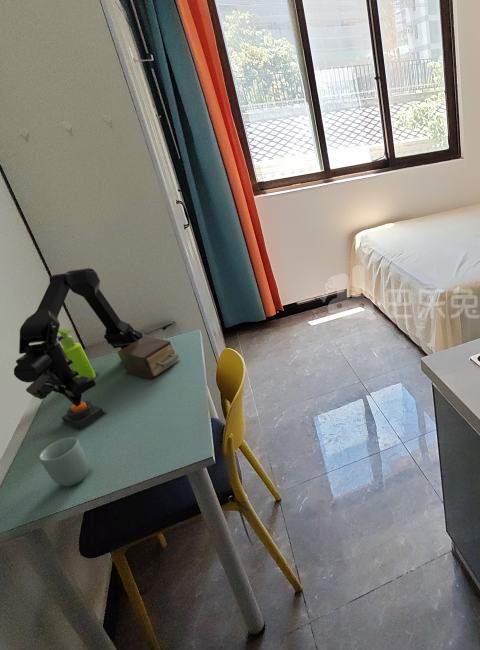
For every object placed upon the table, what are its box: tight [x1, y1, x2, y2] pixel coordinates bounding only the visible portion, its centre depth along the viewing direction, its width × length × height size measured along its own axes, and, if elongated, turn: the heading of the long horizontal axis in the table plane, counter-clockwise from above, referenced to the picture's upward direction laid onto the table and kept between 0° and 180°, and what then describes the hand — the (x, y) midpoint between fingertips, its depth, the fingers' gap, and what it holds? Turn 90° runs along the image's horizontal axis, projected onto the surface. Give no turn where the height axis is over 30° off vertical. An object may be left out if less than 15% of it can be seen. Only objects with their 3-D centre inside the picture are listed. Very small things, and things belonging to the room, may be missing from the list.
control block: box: [60, 400, 106, 430], centre depth 133 cm, size 9×7×4 cm
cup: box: [38, 436, 90, 487], centre depth 109 cm, size 8×8×10 cm
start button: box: [70, 401, 87, 413], centre depth 132 cm, size 4×4×2 cm
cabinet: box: [116, 336, 178, 380], centre depth 155 cm, size 14×11×9 cm
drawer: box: [146, 344, 180, 377], centre depth 153 cm, size 17×9×7 cm, turn 65°
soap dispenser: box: [58, 327, 97, 380], centre depth 150 cm, size 6×7×20 cm
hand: (78, 405), depth 131 cm, fingers closed, pressing on start button
